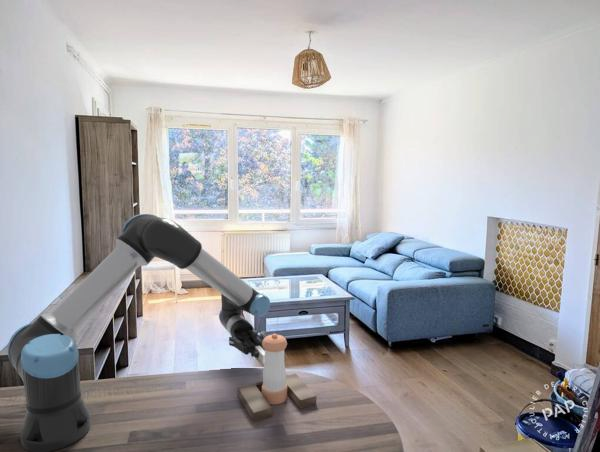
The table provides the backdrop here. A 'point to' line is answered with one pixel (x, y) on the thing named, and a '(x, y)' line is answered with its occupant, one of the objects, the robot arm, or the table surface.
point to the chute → (261, 407)
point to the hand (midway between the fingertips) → (265, 359)
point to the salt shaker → (274, 369)
